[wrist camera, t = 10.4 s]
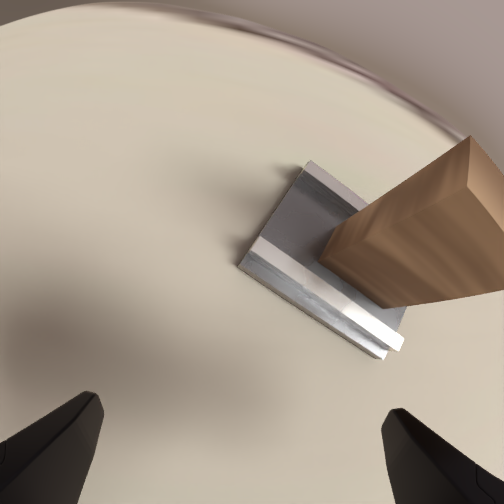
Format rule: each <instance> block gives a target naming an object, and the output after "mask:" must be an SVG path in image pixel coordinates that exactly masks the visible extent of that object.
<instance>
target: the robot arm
mask: <svg viewBox="0 0 504 504" xmlns="http://www.w3.org/2000/svg"><path fill="white" fill-rule="evenodd" d="M103 418H104V410H103V407H102V404H101V402H100V399H99V396H98V395H97V394H96V393H93V392H90V391H84V392H82V393H80V394H79V395H77V396H76V397H74V398H73V399H71V400H69V401H68V402H66V403H65V404H63V405H62V406H60V407H58V408H57V409H55V410H54V411H52V412H50V413H49V414H47V415H46V416H44V417H42V418H41V419H39V420H38V421H36V422H34V423H33V424H31V425H30V426H28V427H26V428H25V429H23V430H21V431H20V432H18V433H16V434H15V435H13V436H11V437H10V438H8V439H7V441H6V440H5V441H3V442H1V443H0V504H77V503H78V500H79V497H80V494H81V491H82V488H83V485H84V482H85V479H86V476H87V473H88V471H89V468H90V465H91V462H92V460H93V457H94V454H95V450H96V446H97V441H98V437H99V433H100V429H101V425H102V422H103ZM381 433H382V439H383V445H384V452H385V459H386V466H387V471H388V475H389V479H390V483H391V487H392V491H393V495H394V499H395V503H396V504H504V481H502V480H500V479H499V478H497V477H495V476H494V475H492V474H491V473H489V472H488V471H486V470H485V469H483V468H482V467H481V466H479V465H478V464H476V463H475V462H474V461H472V460H471V459H470V458H468V457H467V456H465V455H464V454H463V453H461V452H460V451H459V450H457V449H456V448H455V447H453V446H452V445H451V444H449V443H448V442H447V441H445V440H444V439H443V438H441V437H440V436H439V435H438V434H436V433H435V432H434V431H432V430H431V429H430V428H428V427H427V426H426V425H424V424H423V423H422V422H421V421H419V420H418V419H417V418H415V417H414V416H413V415H412V414H410V413H409V412H408V411H406V410H405V409H403V408H397V409H392V410H390V411H389V413H388V415H387V417H386V419H385V421H384V423H383V425H382V428H381Z"/></svg>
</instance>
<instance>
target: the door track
mask: <svg viewBox="0 0 504 504" xmlns="http://www.w3.org/2000/svg"><path fill="white" fill-rule="evenodd" d="M368 205H369V204H368V203H366V202H365V201H364V200H363V199H361V198H360V197H359V196H358V195H356V194H355V193H354V192H353V191H351V190H350V189H349V188H348V187H346V186H345V185H344V184H342V183H341V182H340V181H338V180H337V179H336V178H334V177H333V176H332V175H330V174H329V173H328V172H326V171H325V170H324V169H322V168H321V167H320V166H318V165H317V164H315V163H314V162H313V161H311V160H310V161H309V162H308V163H307V164H306V165H305V167H304V168H303V169H302V171H301V172H300V174H299V175H298V177H297V178H296V180H295V181H294V183H293V184H292V186H291V187H290V189H289V190H288V192H287V193H286V195H285V196H284V198H283V199H282V201H281V202H280V204H279V205H278V207H277V208H276V210H275V211H274V213H273V214H272V216H271V217H270V219H269V220H268V222H267V223H266V225H265V226H264V227H263V229H262V230H261V232H260V233H259V235H258V236H257V238H256V239H255V241H254V242H253V244H252V245H251V247H250V248H249V250H248V251H247V253H246V254H245V256H244V257H243V259H242V260H241V262H240V263H239V265H238V266H237V267H238V268H239V269H241V270H242V271H244V272H245V273H247V274H248V275H250V276H251V277H253V278H254V279H256V280H257V281H259V282H260V283H261V284H263V285H264V286H266V287H267V288H269V289H270V290H272V291H273V292H275V293H276V294H278V295H279V296H281V297H282V298H284V299H285V300H287V301H288V302H290V303H291V304H293V305H294V306H296V307H297V308H299V309H300V310H302V311H303V312H305V313H306V314H308V315H309V316H311V317H312V318H314V319H315V320H317V321H318V322H320V323H321V324H323V325H325V326H326V327H328V328H329V329H331V330H332V331H334V332H335V333H337V334H338V335H340V336H341V337H343V338H344V339H346V340H348V341H349V342H351V343H352V344H354V345H355V346H357V347H358V348H360V349H361V350H363V351H365V352H366V353H368V354H369V355H371V356H372V357H374V358H375V359H383V360H384V358H385V356H386V354H387V352H388V351H397V352H398V351H399V349H400V347H401V345H402V342H403V340H404V338H403V337H401V336H400V335H399V334H397V333H396V332H397V329H398V327H399V325H400V322H401V320H402V317H403V315H404V312H405V310H406V307H407V306H404V307H397V308H389V309H382V308H381V307H379V306H378V305H377V304H375V303H374V302H373V301H371V300H370V299H369V298H367V297H366V296H364V295H363V294H362V293H360V292H359V291H358V290H356V289H355V288H353V287H352V286H351V285H349V284H348V283H346V282H345V281H344V280H342V279H341V278H339V277H338V276H337V275H335V274H334V273H332V272H331V271H330V270H328V269H327V268H325V267H324V266H323V265H321V264H320V263H318V260H319V259H320V257H321V255H322V253H323V251H324V249H325V247H326V245H327V244H328V242H329V240H330V238H331V236H332V234H333V232H334V230H335V228H336V226H337V225H339V224H341V223H342V222H344V221H345V220H347V219H348V218H350V217H351V216H353V215H354V214H356V213H357V212H359V211H360V210H362V209H363V208H365V207H366V206H368Z"/></svg>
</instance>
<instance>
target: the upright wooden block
mask: <svg viewBox="0 0 504 504" xmlns="http://www.w3.org/2000/svg"><path fill="white" fill-rule="evenodd" d="M318 263H320V264H321V265H323V266H324V267H325V268H327V269H328V270H330V271H331V272H332V273H334V274H335V275H337V276H338V277H339V278H341V279H342V280H344V281H345V282H346V283H348V284H349V285H351V286H352V287H353V288H355V289H356V290H358V291H359V292H360V293H362V294H363V295H364V296H366V297H367V298H369V299H370V300H371V301H373V302H374V303H375V304H377V305H378V306H379V307H381V308H382V309H389V308H397V307H404V306H412V305H419V304H426V303H433V302H439V301H445V300H452V299H458V298H463V297H469V296H475V295H480V294H485V293H490V292H495V291H500V290H504V175H503V174H502V173H501V171H500V170H499V169H498V167H497V166H496V165H495V164H494V162H493V161H492V160H491V159H490V158H489V156H488V155H487V154H486V153H485V151H484V150H483V149H482V148H481V147H480V146H479V144H478V143H477V142H476V141H475V140H474V139H473V138H472V136H471V135H470V136H469V137H467V138H466V139H464V140H463V141H462V142H460V143H459V144H457V145H456V146H454V147H453V148H452V149H450V150H449V151H447V152H446V153H444V154H443V155H442V156H440V157H439V158H437V159H436V160H434V161H433V162H431V163H430V164H429V165H427V166H426V167H424V168H423V169H421V170H420V171H418V172H417V173H415V174H414V175H412V176H411V177H410V178H408V179H407V180H405V181H404V182H402V183H401V184H399V185H398V186H396V187H395V188H393V189H392V190H390V191H389V192H387V193H386V194H384V195H383V196H381V197H380V198H378V199H377V200H375V201H374V202H372V203H371V204H369V205H368V206H366V207H365V208H363V209H362V210H360V211H359V212H357V213H356V214H354V215H353V216H351V217H350V218H348V219H347V220H345V221H344V222H342V223H341V224H339V225H337V226H336V228H335V230H334V232H333V234H332V236H331V238H330V240H329V242H328V244H327V245H326V247H325V249H324V251H323V253H322V255H321V257H320V259H319V260H318Z"/></svg>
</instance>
